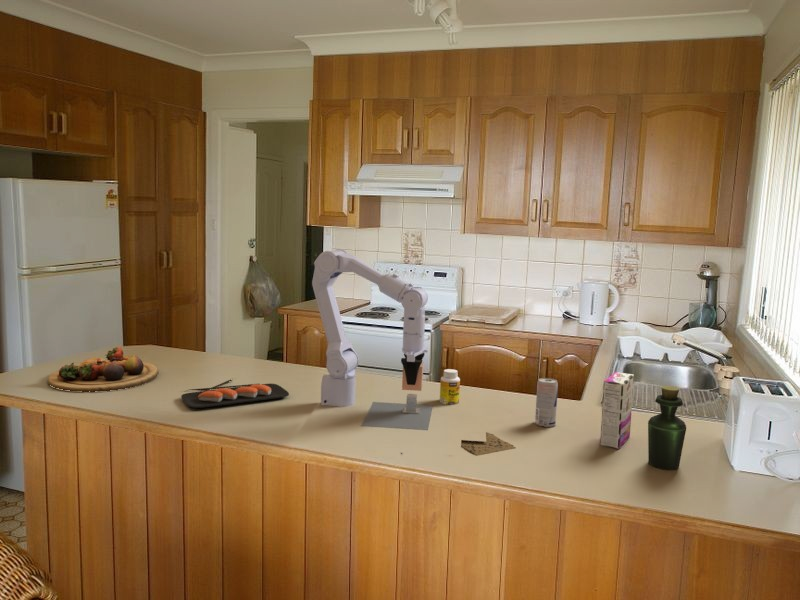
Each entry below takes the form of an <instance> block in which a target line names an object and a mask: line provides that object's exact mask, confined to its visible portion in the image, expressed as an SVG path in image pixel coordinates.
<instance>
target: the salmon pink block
mask: <svg viewBox="0 0 800 600" xmlns="http://www.w3.org/2000/svg"><path fill="white" fill-rule="evenodd" d="M423 377H424V362H423V361H422V363H421V365H420V367H419V370H418V374H417V380H416V383H415V385H407V381H406V374H405V370H404V367H403V366H402V380H401V381H402V383H401V384H402V385H401V390H402V391H417V392H422V389H423V380H424V378H423Z"/></svg>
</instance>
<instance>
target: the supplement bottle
mask: <svg viewBox="0 0 800 600" xmlns="http://www.w3.org/2000/svg"><path fill="white" fill-rule="evenodd" d="M460 386H461V378H460V377H459V376H458V370H456V369H451V368H447V369H446V368H445V369H444V370H443V375H442V376H441V377H440V386H439V388H440V389H439V390H440V391H439V403H440V404H442V405H446V406H447V405H449V406H452V405H453V406H454V405H455V406H456V405H457V404H459V403H460V388H461V387H460Z"/></svg>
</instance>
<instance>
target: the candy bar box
mask: <svg viewBox="0 0 800 600" xmlns="http://www.w3.org/2000/svg"><path fill="white" fill-rule="evenodd" d="M634 376H635V374H632V373H627V372H620V371H615V372H614V373H612V374H611V375H610V376H609V377H607V378H606V379H605V380H603V390H602V406H601V407H602V408H601V425H600V440H599V441H600V442H599V446H601V447H606V448H611V449H617V450H619V449H621V448H622V446H623V445H624V444H625V442H626V441H627V440H628V439H629V438H630V436H631V424H632V411H633V410H632V409H633V408H632V407H633V394H634V392H633V391H634V381H635V380H634Z"/></svg>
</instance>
